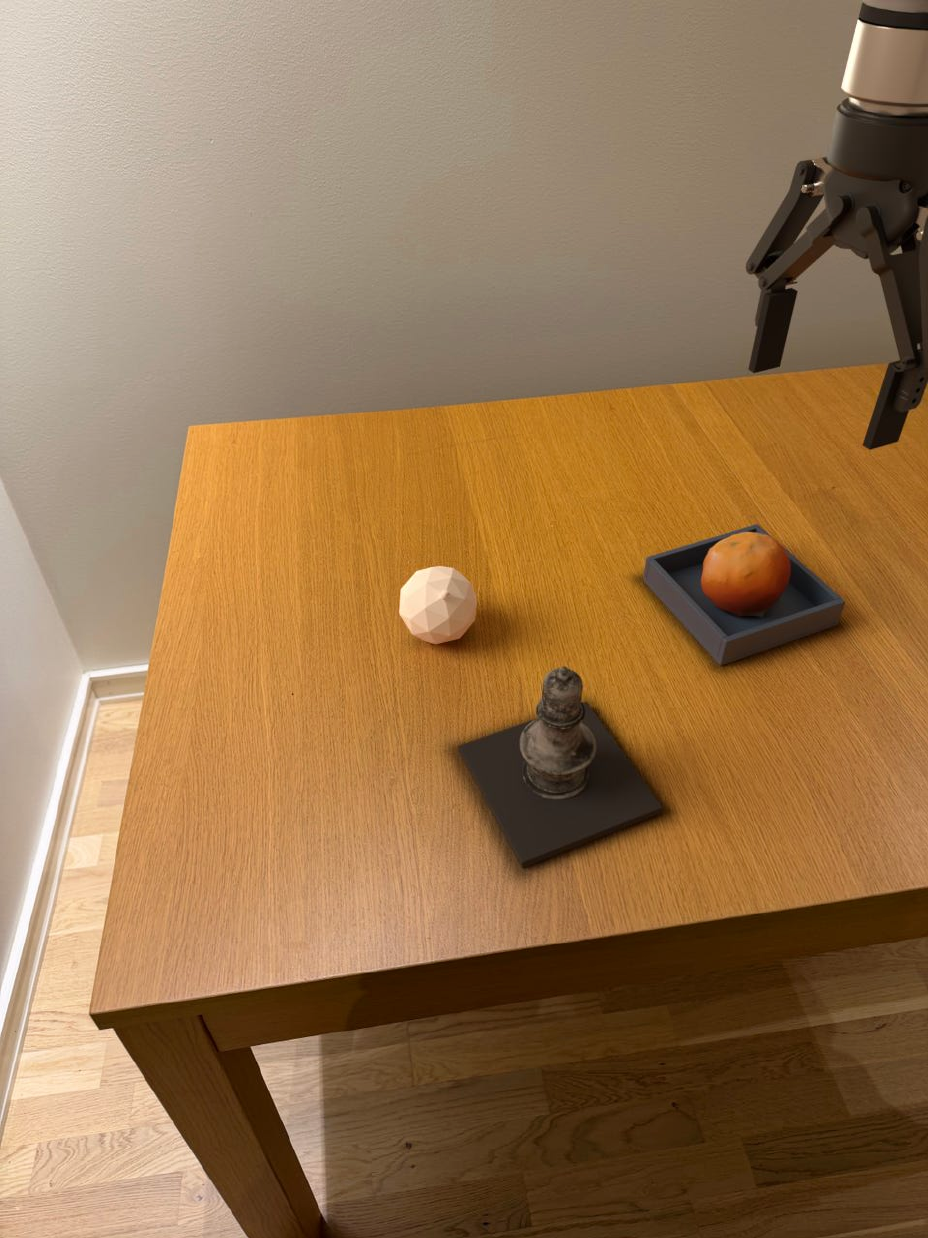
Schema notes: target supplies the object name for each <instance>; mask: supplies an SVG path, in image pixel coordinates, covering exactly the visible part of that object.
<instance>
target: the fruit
mask: <svg viewBox="0 0 928 1238" xmlns="http://www.w3.org/2000/svg"><path fill="white" fill-rule="evenodd" d="M769 535H770V534H769ZM769 535H763V534H761V533H757V532H742V533H739V534H734V535H732V536H730V537H727V538H725V539H723V540H721V541H719V542H718V543H716V544H715V545H714V546H713V547H712V548H710V549H709V551H708V554H707V556H706V557H705V559H704V562H703V572H702V577H701V587H702V589H703V592H704V594H705V595H706V596H707V597H708V598H709V599H710V600H711V602H712V603H713V604H714V605H715V606H716V607H718V608H719V609H721V610H723V611H725V612H728V613H731V614H733V615H737V616H759V617H761V618H762V617H763V615H764V613H765V612H766V611H767V610H768V609H769V608H770V607H771V606H772V605H773V604H774V603H775V602H776V601H777V600H778V599H780V597H781V595H782V594H783V592H784V590H785V589H786V587H787V585H788V582H789V579H790V573H791V566H790V560H789V557H788V554H787V552H786V550H785V549H786V548H785V547H784V546H783V545H782V543H780V542H779V541H778V540H777V539H776V538H774V537H773V536H772V537H773V538H772V537H770V536H771V535H770V536H769ZM782 546H783V547H784V548H785V549H784V548H783V547H782Z"/></svg>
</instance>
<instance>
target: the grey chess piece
mask: <svg viewBox="0 0 928 1238" xmlns="http://www.w3.org/2000/svg"><path fill="white" fill-rule="evenodd" d="M583 684H584V683H583V680H582V677H581V676H580V675H579V674H578V673H577V672H576V671H574V670H573V669H571V668H568V667H567V666H565V665H563V666H561V667H557V668H555V669H552V670H550V671H548V673H546V675H545V676H544V678H543V681H542V690H541V691H542V692H541V698H540V699H539V701H538V702H537V704H536V706H535V714H536V716H537V718H538V719H537V718H535V719H536V720H534V719H533V720H534V721H532V722H531V723H530V724H528V725H527V726H526V727H525V729H524V730H523V732H522V734H521V737H520V750H521V753H522V755H523V757H524V758H525V761H524V764H523V767H522V776H523V779H524V781H525V783H526V785H527V786H528V787H529V789H530V790H532V791H533V792H534V793H536V794H537V795H539V796H542V797H544V798H548V799H552V800H563V799H567V798H571V797H573V796H575V795H577V794H579V793H580V792H581V791H582V790H583V789H584V787H585V786H586V784H587V782H588V778H589V771H588V765H589V764H590V763H591V761H592V760H593V758H594V756H595V752H596V740H595V738H594V736H593V734H592V732H591V731H590V730H589V729H588V727H587V726H586V725H584V724H583V723H581V722H582V720H583V719H584V716H585V707H584V705H583V703H584V702H582V699H583V697H582V696H583V689H584V685H583Z"/></svg>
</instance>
